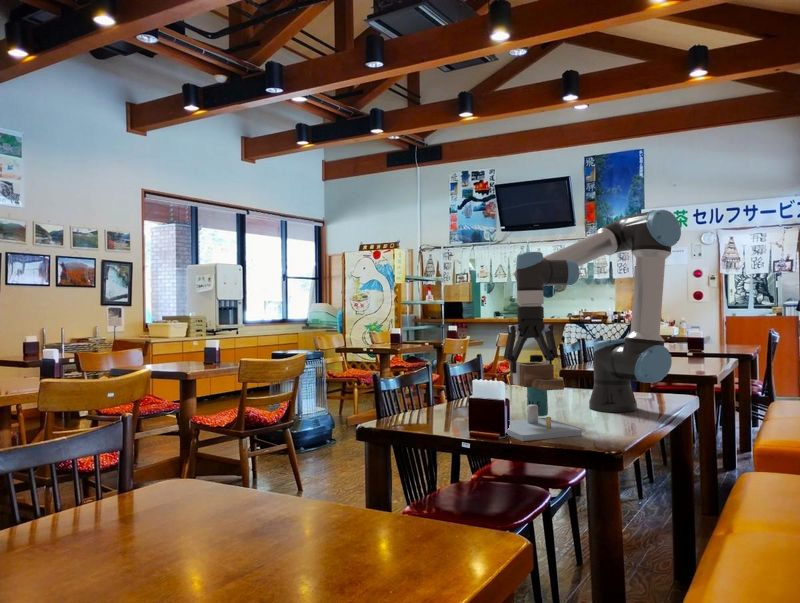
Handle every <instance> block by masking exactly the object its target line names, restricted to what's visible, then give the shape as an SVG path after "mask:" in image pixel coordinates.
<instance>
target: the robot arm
mask: <svg viewBox="0 0 800 603" xmlns="http://www.w3.org/2000/svg"><path fill="white" fill-rule="evenodd" d="M681 235H682V229H681V223H680V221H679V219H678V218H677V217H676V215H675V214H674V213H673V212H671V211H670V210H667V209H658V210H656V209H653V210H650V211H645V212H640V213H635V214H630V215H626V216H623V217H621V218H618V219H617V220H615V221H613V222H611V223H609V224H607V225H605V226H602V227H601V228H599V229H597V230H596V232H595V234H593V235H590V236H587V237H586V238H585V237H584V238H583V239H581V240H579V241H577V242H574V243H572V244H570V245H567V246H566V247H563V248H560V249H559V250H557V251H554V252H551V253H549V254H547V255H545V256H544V254H543V253H542V252H540V251H524V252H523V251H522V252H519V253H518V254H517V256H516V264H515V265H516V266H515V273H514V278H515V281H516V303H517V304H516V305H518V306H517V308H516V314H517V323H516V324H514V325H509V324H508V325H507V338H506V343H505V348H504V354H503V359H504V360H506V361H508V362H509V373H510V372H511V373H513V384H512V385H514V384H515V386H518V385H520V363H521V362H519V361H518V360H519V356H520V354H521V352H522V350H523V347H524V346H525V343H526V341H527V340H528V339H531V338H532V339H535V341H536V342H537V345H538V347H539V349H540V351H541V353H542V354H541V355H542V356H543V360H542V362H541V363H547V364H553V363H552V362H553V361H554V360H555V359H557V358H558V357H559V353H558V350H557V345H556V340H555V335H554V325H553V324H548V323H547V324H545V322H544V316H545V312H544V310H545V308H544V306H542V305H544V304H545V301H544V297H545V296H544V287H546V286H547V287H552V286H563V287H564V286H572V285H574V284H576V282H578V280H579V278H580V267H581V266H583V265H585V264H588V263H590V262H592V261H594V260H597V259H599V258H600V257H603V256H612V255H615V254H617V253H621V252H627V251H631V254H632V255H633V256H634V257H635V270H634V282H633V283H634V284H633V294H632V307H631V308H632V309H631V319H630V320H631V324H630V331H629V333H628V334H627V335H626V336H625V337H624V338H617V339H616V338H615V339H608V340H607V339H605V340H598V341H595V343H593V350H592V351H593V352H592V356H593V357H592V359H593V360H592V362H593V388H592V391H591V395H590V397H589V398H590V399H589V401H588V407H589V409H590V410H593V411H598V412H605V413H606V412H607V413H628V412H635V411H637V410H638V402H637V400H636V397H635V395H634V390H633V388H632V385H631V384H632V383H631V381H636V382H640V383H646V384H647V383H652V384H653V383H655V384H656V383H658V382H661V381H662V380H664V378H665V377H667V376H668V374H669V373H670V371H671V368H672V364H673V363H672V361H673V360H672V359H673V358H672V354H671V353H670V351H669V349H668V348H667V347H665V339H664V338H663V337H662V336H661V321H662V311H663V310H662V306H663V293H664V280H665V269H666V268H665V267H666V259H667V258H668V257H670V256H671V254H672V247H673V246H675V245H676V244H678V242H679V240H681ZM543 331H544V334H543ZM517 332H519V333H518V335H517ZM544 335H545V336H544ZM516 336H517V340H516ZM545 339H546V341H545ZM515 342H516V343H515Z"/></svg>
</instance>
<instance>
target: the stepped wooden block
mask: <svg viewBox="0 0 800 603" xmlns="http://www.w3.org/2000/svg"><path fill="white" fill-rule="evenodd" d="M554 366H555V365H554V364H553V363H552V364H547V363H542V362H530V361H527V362H523V361H522V362H520V385H517V386H519V387H522V388H527V387H532V388H536V389H540V390H544V391H546V390H547V391H560V390H565V380H564V379H561V378H555V370H554V369H555V367H554ZM509 375H510V376H509V378H510V379H509V381H510V382H509V384H511V385H515V384H513V373H511V372H510V371H509ZM515 386H516V385H515Z"/></svg>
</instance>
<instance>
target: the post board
mask: <svg viewBox="0 0 800 603" xmlns="http://www.w3.org/2000/svg"><path fill="white" fill-rule="evenodd" d="M526 408H527V410H526V412H527V413H526V414H527V418H526V419H515V420H509V421H510V425H509V428H508V429H507V434H508V435H507V436H509V437H511V438H513V439H516V440H519V441H521V442H526V441H537V440H547V439H555V438H565V437H568V438H569V437H578V436H582V429H581V428H577V427H575V426H571V425H567V424H565V423H562V422H559V421H556V420H554V419H553V420H552V417H551V416H546V417H539V416H538V405H527V404H526Z"/></svg>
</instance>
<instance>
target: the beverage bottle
mask: <svg viewBox="0 0 800 603" xmlns="http://www.w3.org/2000/svg"><path fill="white" fill-rule="evenodd" d="M542 360H544V356H543V354H532V355H529V362H541V363H542ZM526 399H527V400H526V406H527V405H538V417H545V416H546V417H547V416H548V414H549V406H548V405H549V402H548V401H549V400H548V399H549V398H548V390H546V391H544V390H540V389H536V388H532V387H526Z"/></svg>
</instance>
